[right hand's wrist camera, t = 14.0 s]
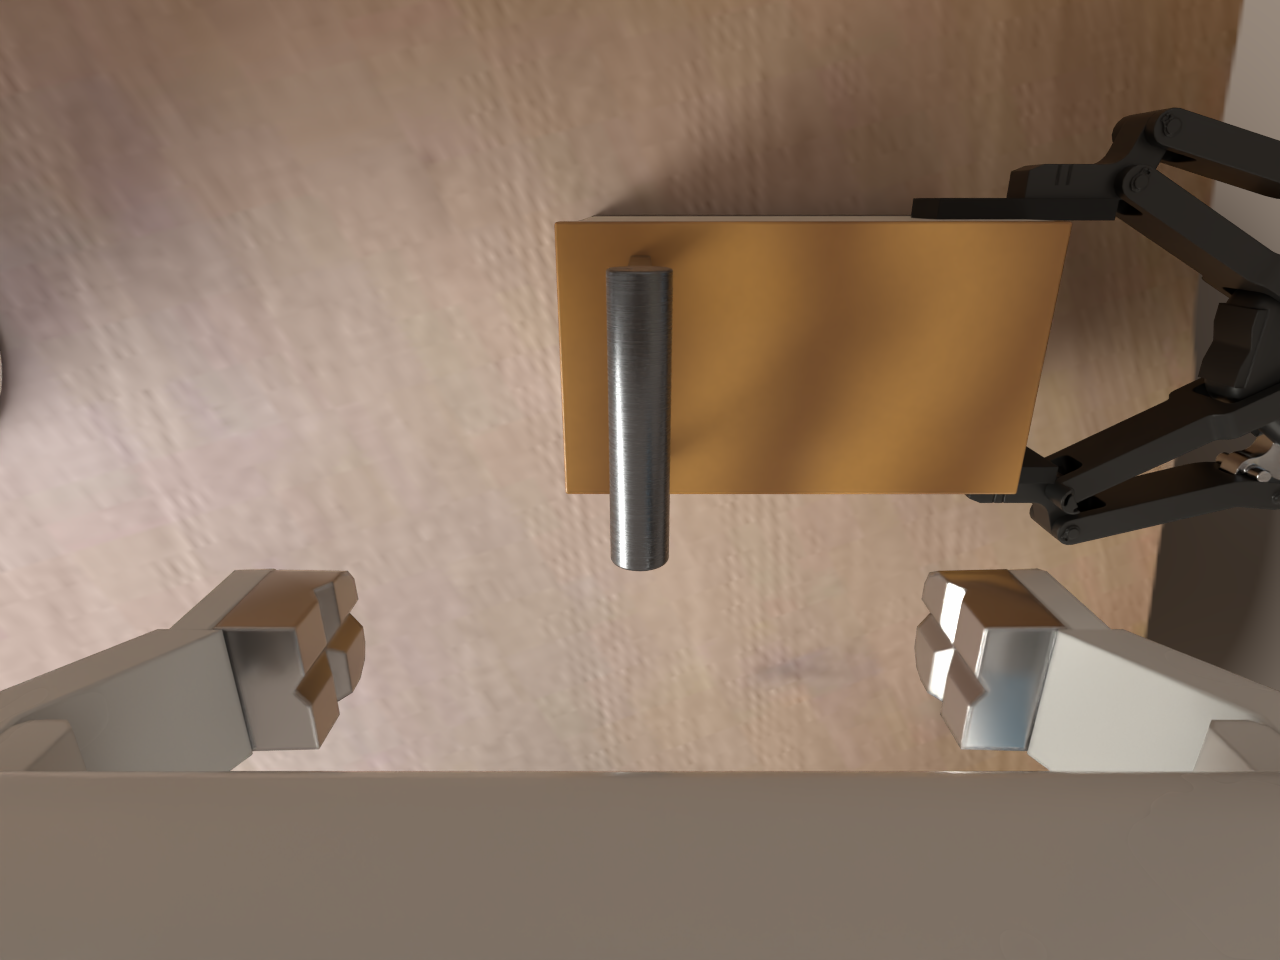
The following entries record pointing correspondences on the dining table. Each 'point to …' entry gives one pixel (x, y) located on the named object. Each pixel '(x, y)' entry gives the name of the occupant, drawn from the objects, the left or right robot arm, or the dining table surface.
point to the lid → (797, 359)
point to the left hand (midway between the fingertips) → (906, 345)
